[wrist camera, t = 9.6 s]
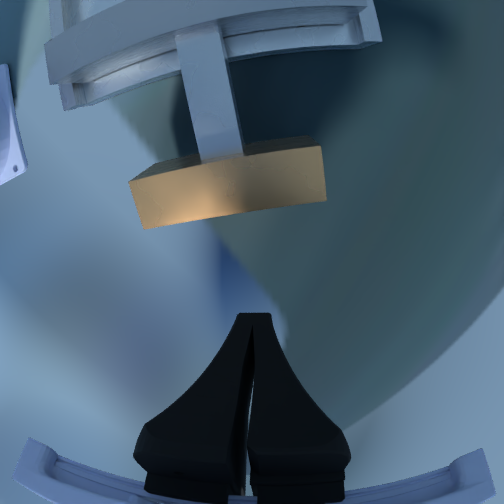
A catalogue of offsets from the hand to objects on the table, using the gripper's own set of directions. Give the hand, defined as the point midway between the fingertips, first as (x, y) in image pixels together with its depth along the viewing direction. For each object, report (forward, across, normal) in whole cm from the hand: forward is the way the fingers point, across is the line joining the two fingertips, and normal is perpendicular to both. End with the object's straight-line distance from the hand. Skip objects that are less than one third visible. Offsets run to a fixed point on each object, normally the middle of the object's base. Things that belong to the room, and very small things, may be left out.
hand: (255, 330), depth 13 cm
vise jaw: (+4, +1, -9) cm, 10 cm away
